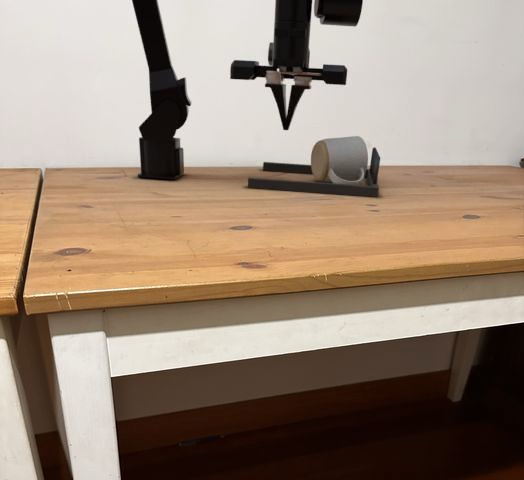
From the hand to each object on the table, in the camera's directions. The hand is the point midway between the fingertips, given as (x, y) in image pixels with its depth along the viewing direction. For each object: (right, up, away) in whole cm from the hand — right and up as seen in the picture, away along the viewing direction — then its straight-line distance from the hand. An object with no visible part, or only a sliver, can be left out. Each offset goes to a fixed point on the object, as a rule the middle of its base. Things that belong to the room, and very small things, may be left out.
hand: (285, 130), depth 89 cm
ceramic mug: (+10, -8, +3) cm, 13 cm away
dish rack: (+5, -8, +3) cm, 10 cm away
